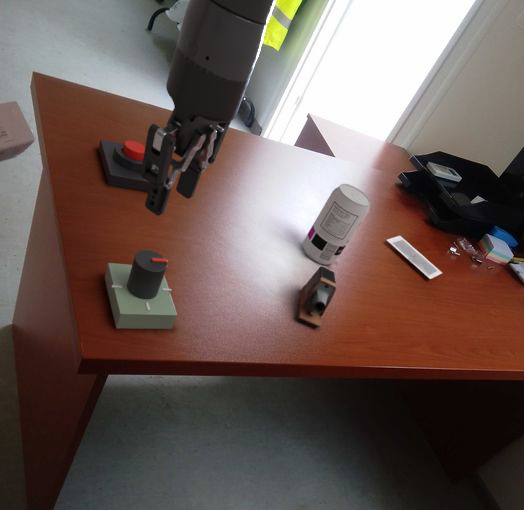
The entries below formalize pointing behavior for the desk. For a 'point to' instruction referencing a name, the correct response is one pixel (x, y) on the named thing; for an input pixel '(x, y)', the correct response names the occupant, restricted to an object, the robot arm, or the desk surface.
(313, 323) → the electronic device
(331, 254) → the supplement can
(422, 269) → the white grey flat block
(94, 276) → the desk surface
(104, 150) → the button base
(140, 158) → the button
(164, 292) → the dial panel
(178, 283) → the desk surface
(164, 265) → the dial
